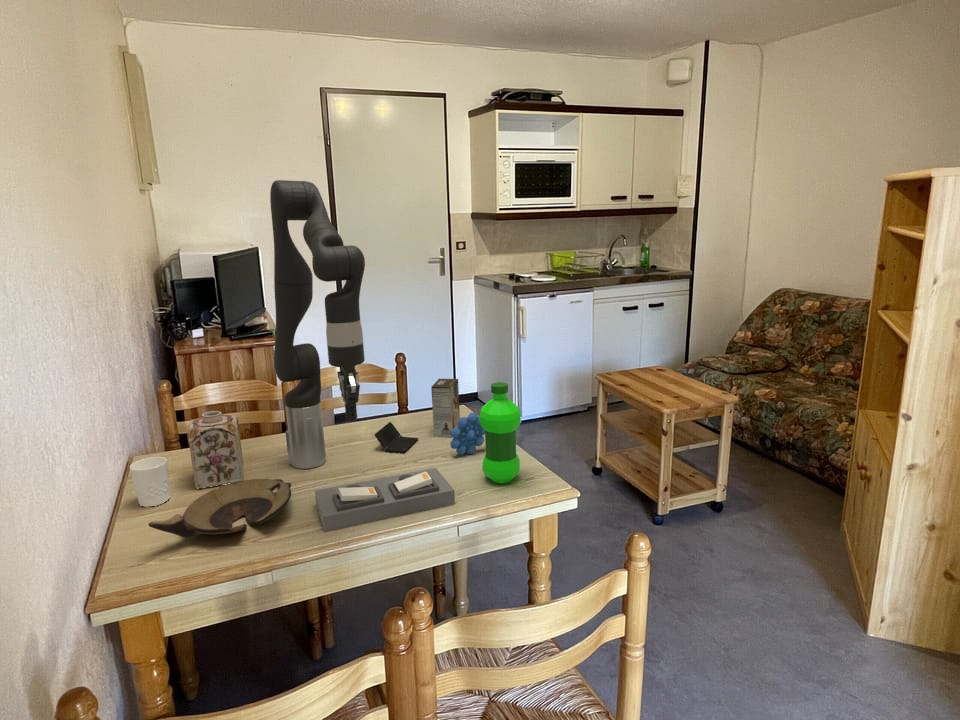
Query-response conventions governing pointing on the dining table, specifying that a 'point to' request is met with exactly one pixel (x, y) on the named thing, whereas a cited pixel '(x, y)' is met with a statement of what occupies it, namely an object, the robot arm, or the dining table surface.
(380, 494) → the rocker switch panel
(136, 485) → the white cup
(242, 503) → the oil lamp
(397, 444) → the handheld gaming console
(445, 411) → the coffee box
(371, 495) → the left rocker
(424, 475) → the right rocker
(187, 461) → the dining table surface
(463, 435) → the grapes
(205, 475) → the decorative jar
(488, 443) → the plastic bottle
